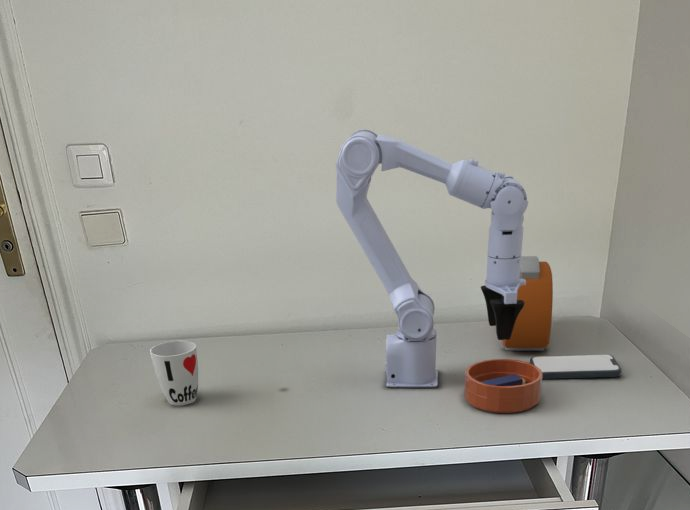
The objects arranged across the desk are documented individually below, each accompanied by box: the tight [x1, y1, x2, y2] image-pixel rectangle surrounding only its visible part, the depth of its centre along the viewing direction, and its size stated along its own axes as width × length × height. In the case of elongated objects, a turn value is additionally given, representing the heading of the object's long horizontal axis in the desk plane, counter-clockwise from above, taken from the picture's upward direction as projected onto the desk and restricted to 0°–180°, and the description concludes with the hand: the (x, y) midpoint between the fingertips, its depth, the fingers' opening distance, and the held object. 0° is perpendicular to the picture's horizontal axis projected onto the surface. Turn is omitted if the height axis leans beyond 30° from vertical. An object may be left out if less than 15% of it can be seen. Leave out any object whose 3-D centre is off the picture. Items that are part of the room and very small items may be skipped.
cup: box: [149, 340, 199, 407], centre depth 132 cm, size 8×8×10 cm
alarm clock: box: [502, 255, 554, 352], centre depth 152 cm, size 23×9×17 cm, turn 172°
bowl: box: [464, 358, 543, 414], centre depth 129 cm, size 13×13×5 cm
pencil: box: [481, 374, 527, 386], centre depth 129 cm, size 10×3×3 cm, turn 114°
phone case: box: [529, 354, 622, 380], centre depth 139 cm, size 9×2×16 cm
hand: (499, 332), depth 132 cm, fingers open, 7 cm apart
